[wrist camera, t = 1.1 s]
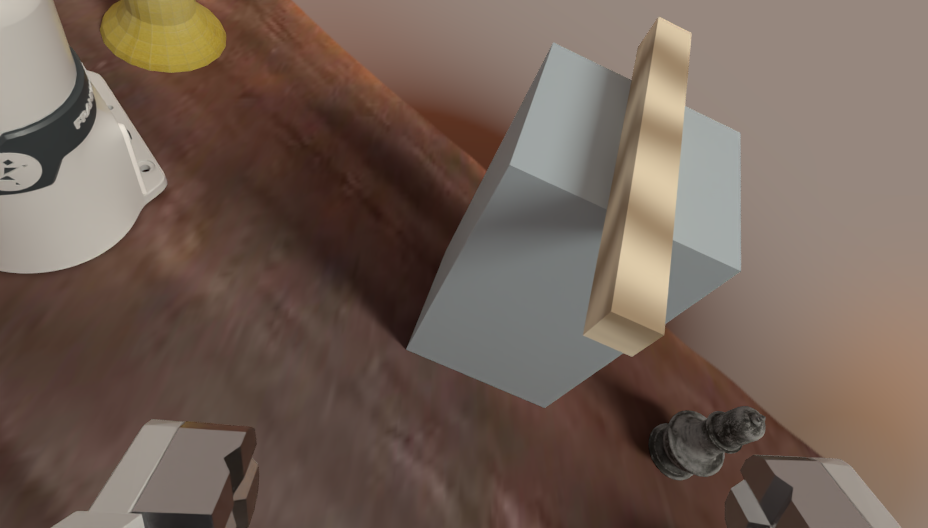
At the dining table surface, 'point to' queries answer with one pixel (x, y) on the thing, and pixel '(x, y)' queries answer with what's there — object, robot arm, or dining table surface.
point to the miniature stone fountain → (702, 440)
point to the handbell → (163, 34)
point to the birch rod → (642, 199)
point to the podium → (567, 235)
